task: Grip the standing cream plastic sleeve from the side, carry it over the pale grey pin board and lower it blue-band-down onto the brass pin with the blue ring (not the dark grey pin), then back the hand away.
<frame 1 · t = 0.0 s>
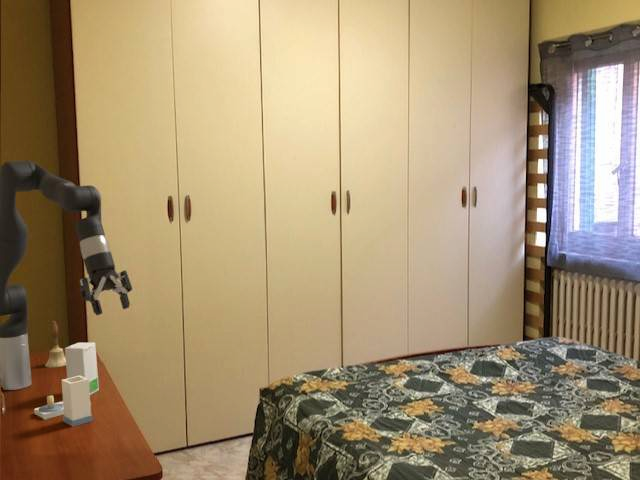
hand: (113, 311, 194), 31 cm above the table, tool tilted 20°, fingers open, 8 cm apart
sleeve: (78, 421, 200), on the table
hand bell: (57, 364, 258), on the table
pin board: (63, 410, 209), on the table
skincare box: (83, 394, 224), on the table
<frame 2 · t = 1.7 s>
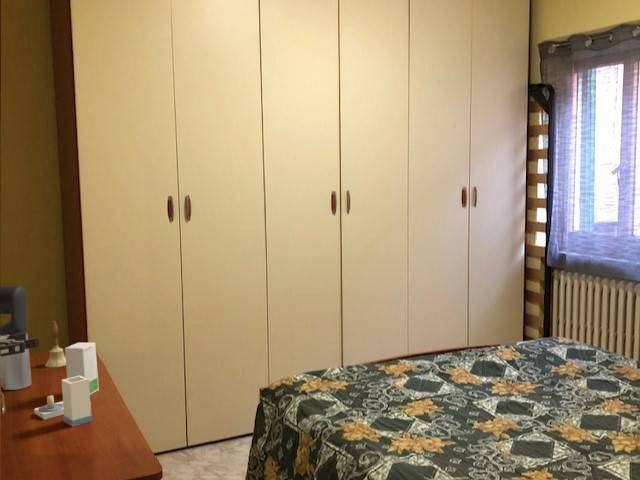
hand: (31, 339, 190), 26 cm above the table, tool horizontal, fingers open, 8 cm apart
nothing on the table moved.
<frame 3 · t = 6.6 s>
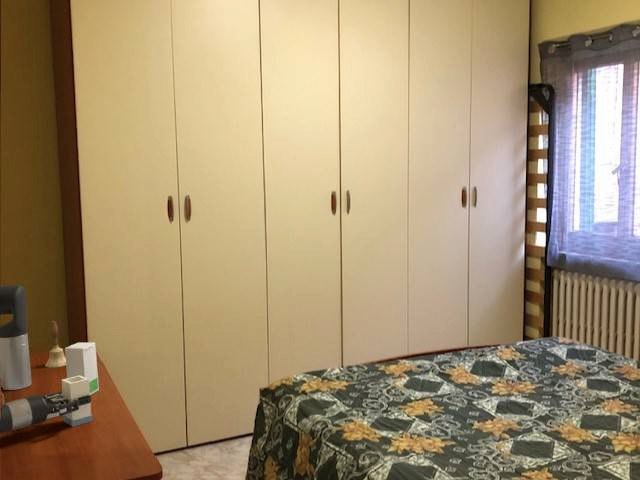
hand: (84, 396, 201), 6 cm above the table, tool horizontal, fingers closed on sleeve, 5 cm apart
sleeve: (78, 421, 200), on the table, touching gripper
everything else where it was.
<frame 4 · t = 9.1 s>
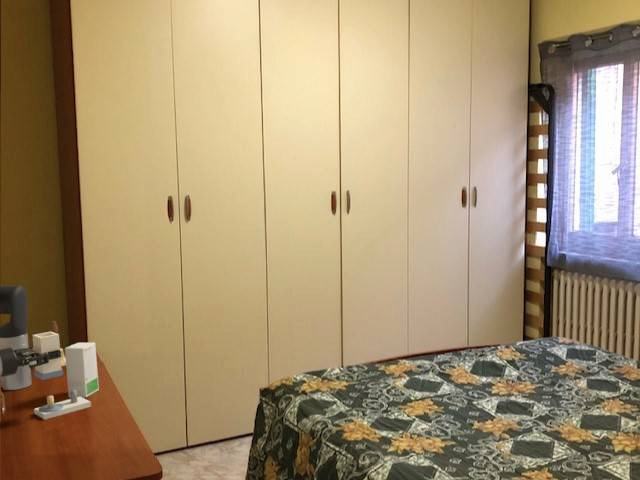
hand: (55, 351, 207), 18 cm above the table, tool horizontal, fingers closed on sleeve, 5 cm apart
sleeve: (48, 375, 206), point 11 cm above the table, touching gripper
everything else where it was.
when the fingers open (9 cm above the table, at t = 11.5 s): sleeve drops 1 cm, resting on pin board.
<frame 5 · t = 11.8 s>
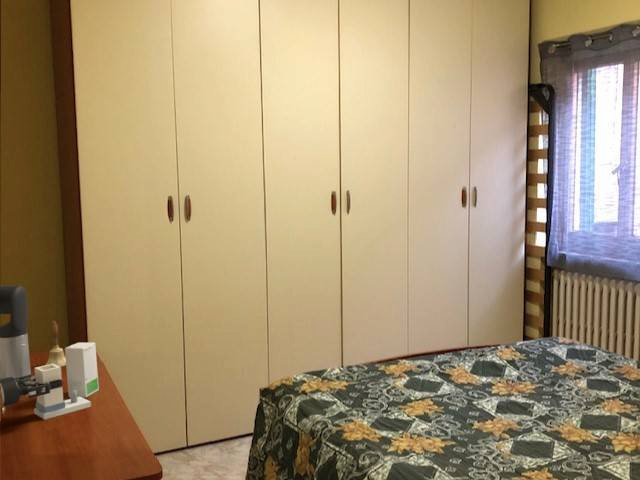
hand: (55, 379, 207), 10 cm above the table, tool horizontal, fingers open, 7 cm apart
sleeve: (50, 407, 207), point 2 cm above the table, touching pin board
everything else where it was.
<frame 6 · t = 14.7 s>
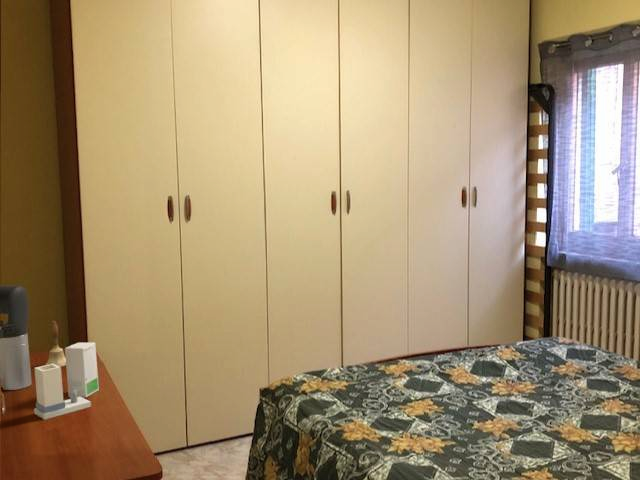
hand: (8, 325, 197), 28 cm above the table, tool horizontal, fingers open, 8 cm apart
nothing on the table moved.
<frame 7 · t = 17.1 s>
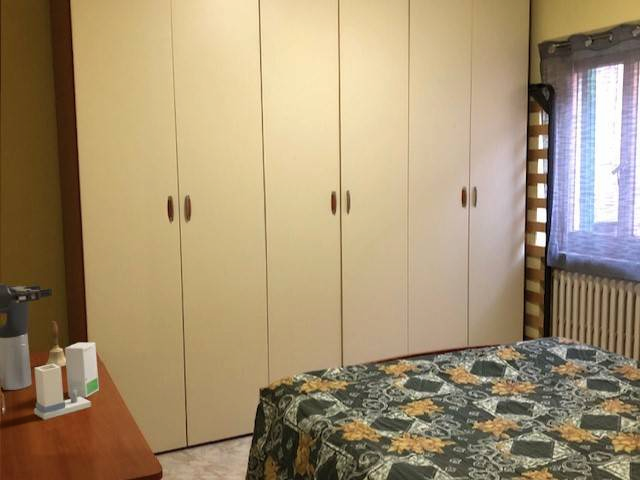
hand: (45, 290, 215), 34 cm above the table, tool horizontal, fingers open, 8 cm apart
nothing on the table moved.
at the end: sleeve 0.1 cm from the target spot, point 1.7 cm above the table; sleeve tilted 0°; the gripper is holding nothing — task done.
